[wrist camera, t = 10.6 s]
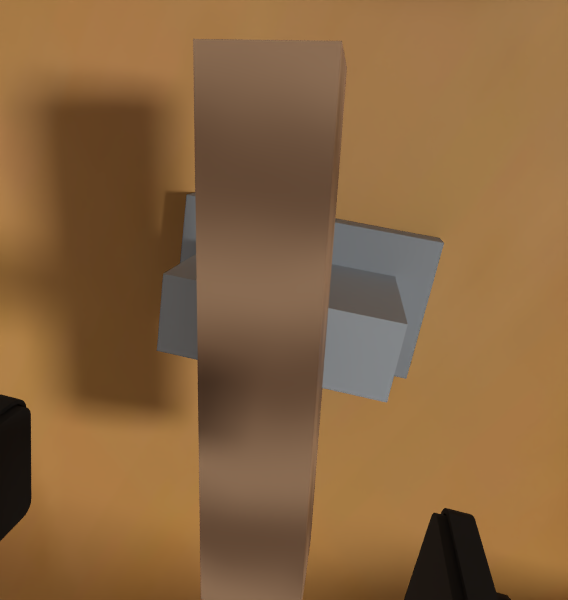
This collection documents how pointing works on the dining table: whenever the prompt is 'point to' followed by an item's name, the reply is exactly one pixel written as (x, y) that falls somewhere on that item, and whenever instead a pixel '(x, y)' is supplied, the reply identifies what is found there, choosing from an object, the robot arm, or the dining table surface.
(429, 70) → the dining table surface
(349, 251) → the ridge
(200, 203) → the rod
